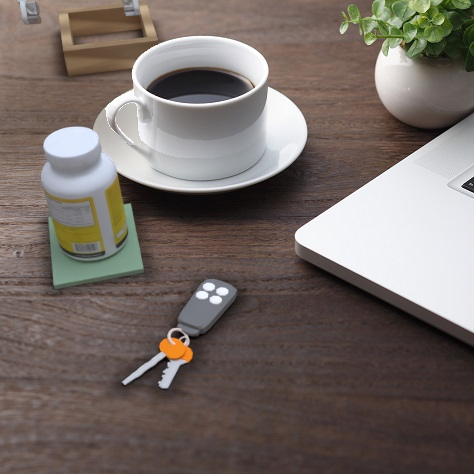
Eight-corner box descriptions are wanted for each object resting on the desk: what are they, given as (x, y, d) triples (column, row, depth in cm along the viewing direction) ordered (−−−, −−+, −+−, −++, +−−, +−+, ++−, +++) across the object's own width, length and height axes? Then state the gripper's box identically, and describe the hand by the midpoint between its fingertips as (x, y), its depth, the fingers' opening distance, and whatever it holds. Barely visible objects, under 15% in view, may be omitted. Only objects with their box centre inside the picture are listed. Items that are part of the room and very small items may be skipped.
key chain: (204, 284, 76) (203, 272, 75) (240, 296, 75) (239, 284, 74) (121, 385, 67) (118, 374, 66) (160, 401, 66) (158, 389, 65)
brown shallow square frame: (62, 34, 110) (57, 9, 108) (149, 24, 113) (146, 0, 111) (68, 76, 102) (63, 51, 100) (161, 65, 105) (158, 40, 103)
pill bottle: (122, 213, 82) (103, 114, 74) (135, 254, 77) (117, 153, 70) (54, 228, 80) (27, 128, 72) (64, 271, 75) (37, 169, 68)
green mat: (49, 221, 81) (47, 216, 81) (131, 207, 84) (130, 202, 83) (54, 290, 74) (53, 285, 74) (144, 273, 77) (143, 268, 76)
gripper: (-62, -132, 75) (-41, 18, 75) (166, -144, 79) (187, -1, 79) (-41, -102, 81) (-22, 37, 81) (169, -114, 85) (188, 18, 85)
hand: (82, 18), depth 80 cm, fingers open, 8 cm apart
